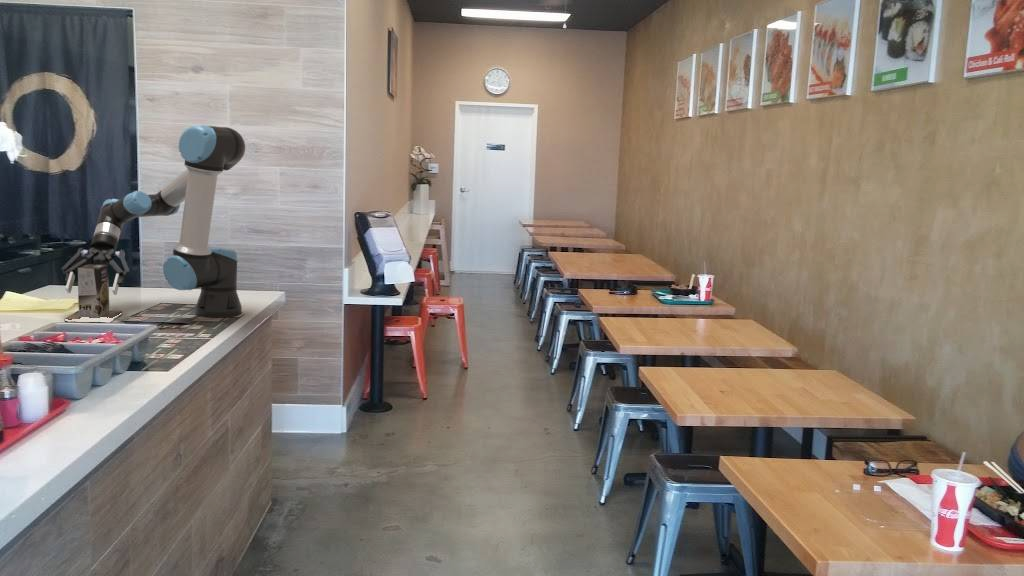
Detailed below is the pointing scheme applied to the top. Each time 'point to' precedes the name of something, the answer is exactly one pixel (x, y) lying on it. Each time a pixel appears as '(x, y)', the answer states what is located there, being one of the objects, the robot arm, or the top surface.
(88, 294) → the coffee box
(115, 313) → the walnut board
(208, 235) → the robot arm
